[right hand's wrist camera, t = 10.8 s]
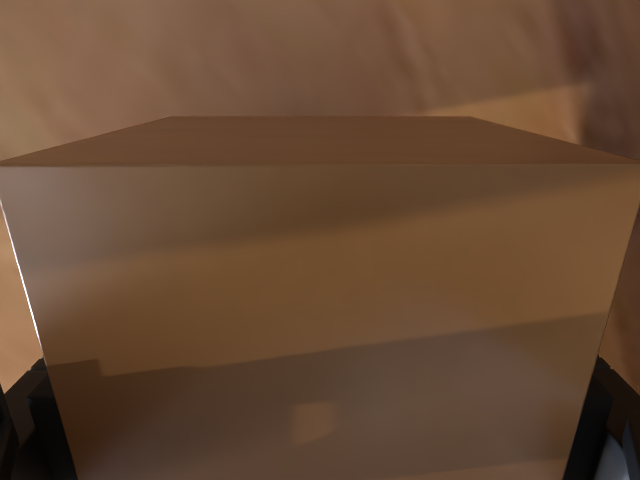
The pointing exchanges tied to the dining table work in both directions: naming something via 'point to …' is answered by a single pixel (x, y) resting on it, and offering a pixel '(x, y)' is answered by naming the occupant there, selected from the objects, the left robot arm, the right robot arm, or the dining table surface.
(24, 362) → the dining table surface
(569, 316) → the thick board
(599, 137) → the dining table surface
